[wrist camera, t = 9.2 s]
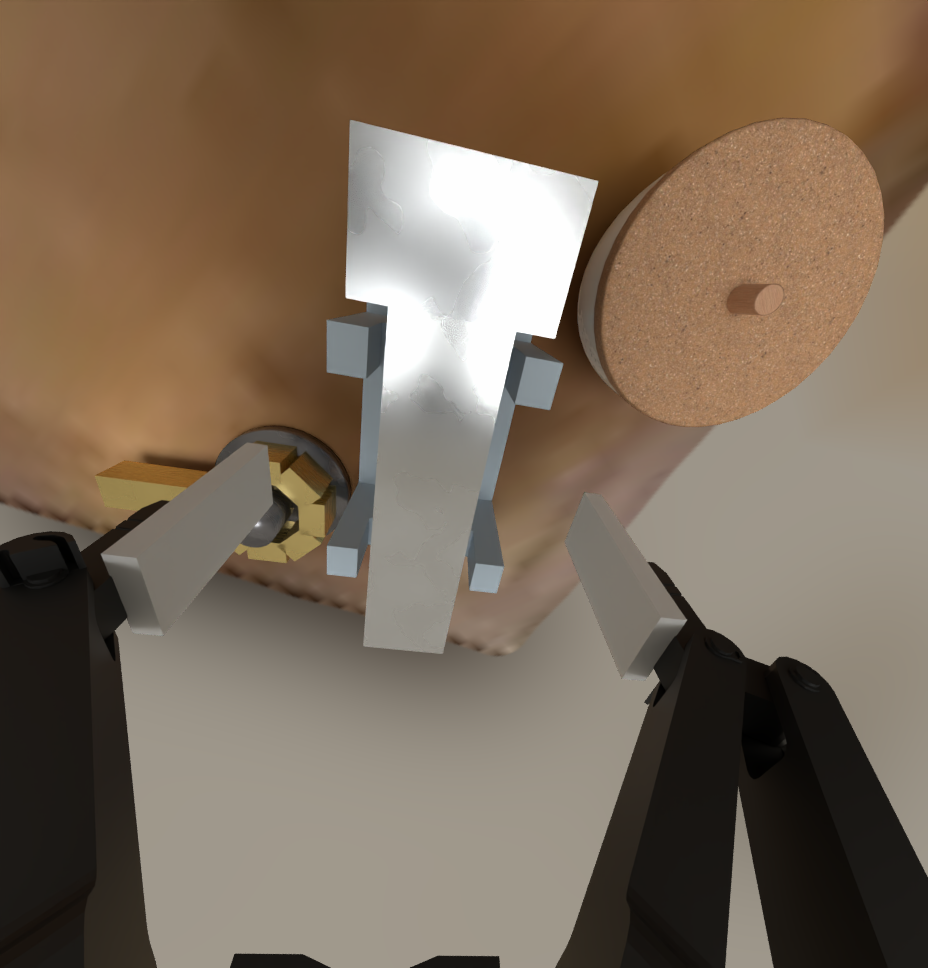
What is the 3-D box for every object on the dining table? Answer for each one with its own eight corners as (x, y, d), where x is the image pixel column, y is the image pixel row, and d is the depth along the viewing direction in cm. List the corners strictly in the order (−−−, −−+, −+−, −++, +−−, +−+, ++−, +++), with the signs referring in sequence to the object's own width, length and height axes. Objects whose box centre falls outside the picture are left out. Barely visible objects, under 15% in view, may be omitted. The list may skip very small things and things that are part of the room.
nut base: (213, 416, 24) (151, 447, 19) (352, 437, 25) (328, 472, 20) (230, 527, 28) (183, 577, 23) (349, 542, 29) (327, 592, 24)
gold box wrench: (336, 452, 24) (324, 469, 21) (335, 544, 27) (324, 567, 25) (116, 419, 22) (77, 434, 20) (144, 521, 26) (114, 543, 23)
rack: (370, 292, 21) (326, 291, 13) (532, 323, 22) (570, 338, 14) (359, 511, 27) (327, 587, 20) (482, 528, 28) (492, 605, 21)
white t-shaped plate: (382, 173, 14) (349, 119, 10) (555, 214, 15) (598, 180, 11) (358, 579, 24) (337, 643, 20) (464, 591, 25) (467, 656, 20)
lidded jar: (592, 419, 24) (663, 482, 16) (522, 259, 20) (572, 235, 12) (755, 332, 22) (936, 354, 14) (718, 129, 18) (951, -16, 9)
